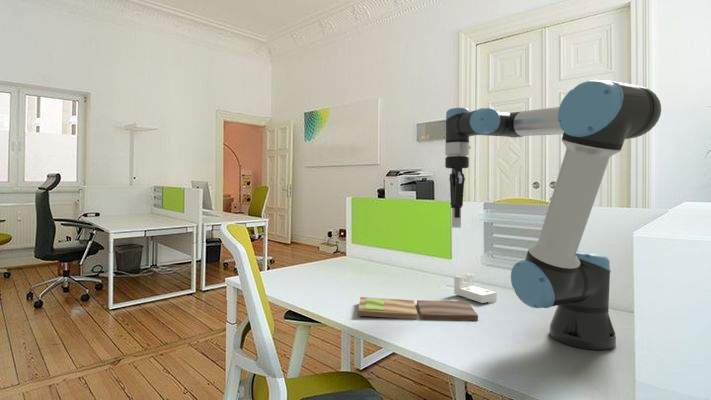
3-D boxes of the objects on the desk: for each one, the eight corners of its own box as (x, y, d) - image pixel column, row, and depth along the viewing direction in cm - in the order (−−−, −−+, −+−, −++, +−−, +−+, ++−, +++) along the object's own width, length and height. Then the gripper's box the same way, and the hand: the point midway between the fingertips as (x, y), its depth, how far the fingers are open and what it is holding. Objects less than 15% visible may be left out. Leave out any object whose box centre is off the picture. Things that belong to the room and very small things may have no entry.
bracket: (454, 296, 142) (454, 275, 142) (467, 293, 146) (467, 273, 146) (482, 305, 131) (482, 283, 131) (496, 302, 135) (496, 280, 134)
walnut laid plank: (477, 320, 116) (478, 315, 116) (421, 319, 117) (421, 314, 117) (467, 305, 130) (467, 301, 130) (416, 304, 131) (416, 300, 131)
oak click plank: (417, 319, 117) (417, 313, 117) (358, 315, 118) (358, 309, 118) (413, 304, 131) (413, 299, 131) (360, 301, 132) (360, 296, 132)
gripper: (473, 154, 122) (472, 229, 123) (464, 157, 135) (463, 225, 136) (449, 154, 122) (448, 229, 123) (442, 157, 135) (441, 225, 136)
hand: (456, 227), depth 129 cm, fingers closed
